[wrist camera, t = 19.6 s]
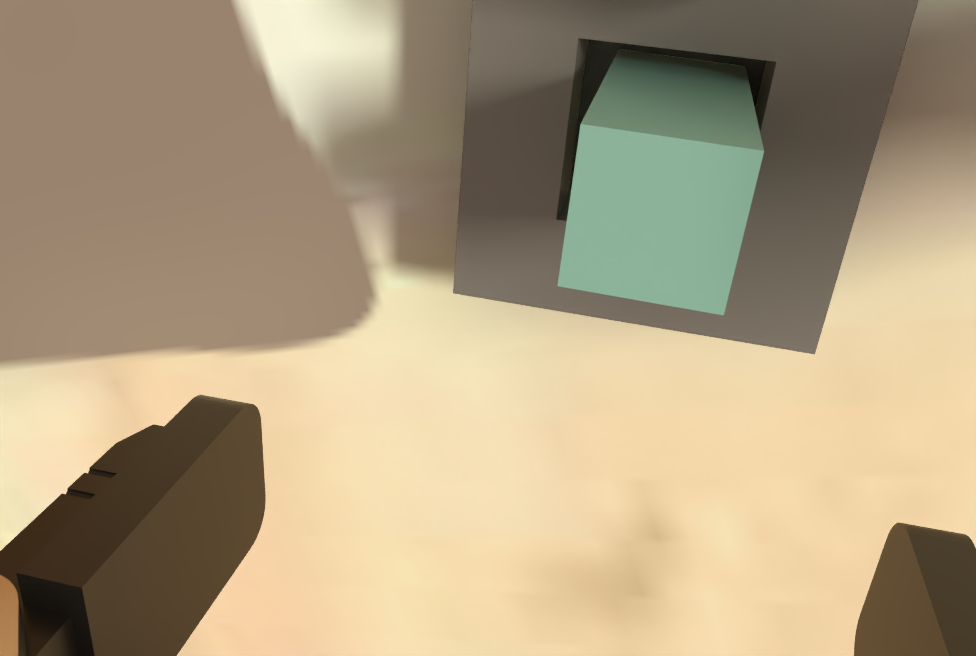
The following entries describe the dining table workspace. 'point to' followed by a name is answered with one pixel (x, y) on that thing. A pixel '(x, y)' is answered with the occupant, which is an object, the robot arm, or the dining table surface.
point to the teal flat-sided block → (663, 182)
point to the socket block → (782, 123)
